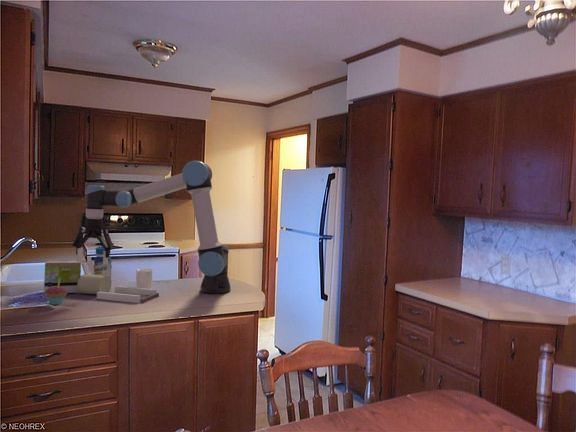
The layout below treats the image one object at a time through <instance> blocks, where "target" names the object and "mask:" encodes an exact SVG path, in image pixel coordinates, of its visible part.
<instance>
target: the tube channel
mask: <svg viewBox="0 0 576 432" xmlns="http://www.w3.org/2000/svg"><path fill="white" fill-rule="evenodd" d="M155 293H157V289H155V288H151V289H146V288H137V287H133V286H121V285H115V286H114V292H110V291H109V292H97V294H96V299H97V300H104V301H105V300H107V301H114V302H115V301H116V302H124V303H136V304H140V303H141V297H142V296H146V295H152V294H155Z"/></svg>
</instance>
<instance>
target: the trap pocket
mask: <svg viewBox="0 0 576 432" xmlns="http://www.w3.org/2000/svg"><path fill="white" fill-rule="evenodd" d="M159 297H160V293H159V292H156V293H155V294H152V295H146V296H145V295H142V296H141V302H140V303H142V304H144V303H146V302H149V301H152V300H153V299H156V298H159Z"/></svg>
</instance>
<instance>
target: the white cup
mask: <svg viewBox="0 0 576 432" xmlns="http://www.w3.org/2000/svg"><path fill="white" fill-rule="evenodd" d="M153 272H154V271H153V269H152V268H151V269H150V268H141V269H136V270H135V274H136V275H135V276H136V277H135V279H136V280H135V282H136V288H146V289H152V284H153V283H152V282H153V275H154V274H153Z"/></svg>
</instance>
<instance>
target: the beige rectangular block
mask: <svg viewBox="0 0 576 432" xmlns="http://www.w3.org/2000/svg"><path fill="white" fill-rule="evenodd" d="M77 288H78V291H79V294H84V295H85V294H88V295H97V292H109V293H110V291H111V289H112V278H111V279H110V277H109V276H101V275H94V274H86V273H84V274H81V277H80V278H79V280H78V284H77Z"/></svg>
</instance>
